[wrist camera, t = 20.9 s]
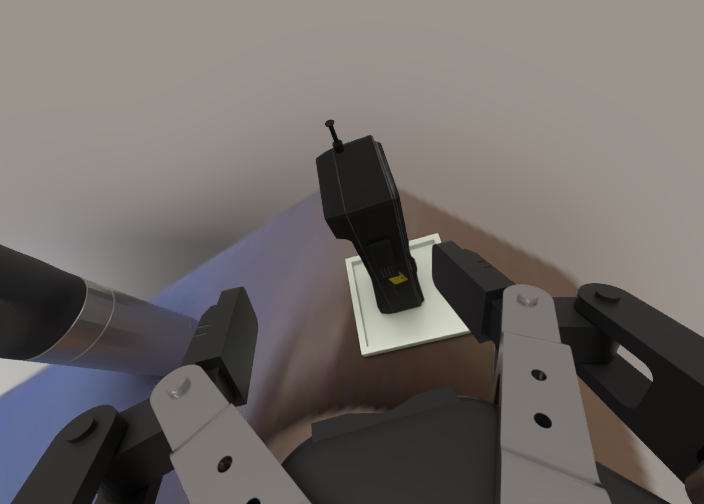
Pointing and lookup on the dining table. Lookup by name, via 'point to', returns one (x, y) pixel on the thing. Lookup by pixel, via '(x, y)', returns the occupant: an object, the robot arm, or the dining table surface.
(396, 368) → the dining table surface
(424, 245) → the sage tray
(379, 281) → the portable radio
